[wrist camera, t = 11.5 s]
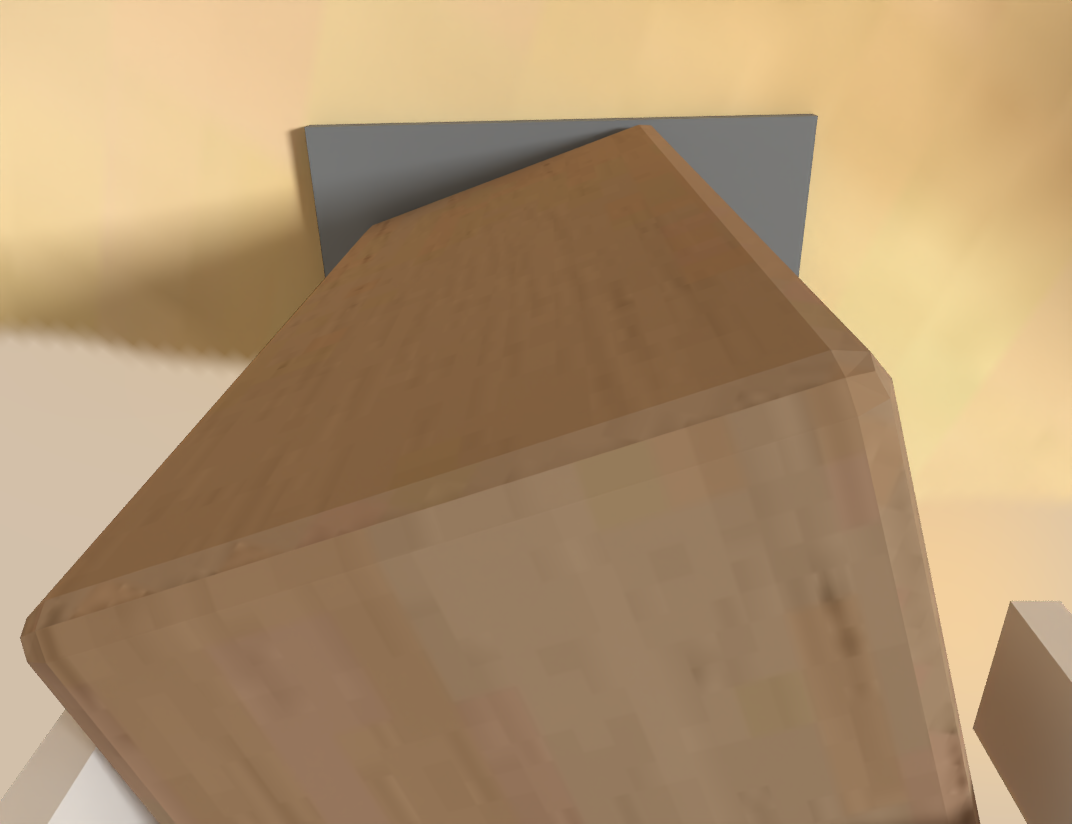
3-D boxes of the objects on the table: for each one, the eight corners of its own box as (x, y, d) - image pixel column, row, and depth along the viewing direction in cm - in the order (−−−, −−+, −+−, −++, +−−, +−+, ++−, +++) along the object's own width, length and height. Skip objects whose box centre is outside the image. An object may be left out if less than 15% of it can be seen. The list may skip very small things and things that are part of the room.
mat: (309, 125, 26) (304, 127, 26) (811, 113, 26) (817, 115, 25) (359, 498, 32) (356, 506, 32) (767, 494, 32) (771, 502, 31)
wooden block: (475, 474, 31) (370, 1105, 13) (361, 227, 27) (-19, 641, 9) (732, 393, 29) (1023, 985, 11) (652, 117, 25) (903, 351, 7)
